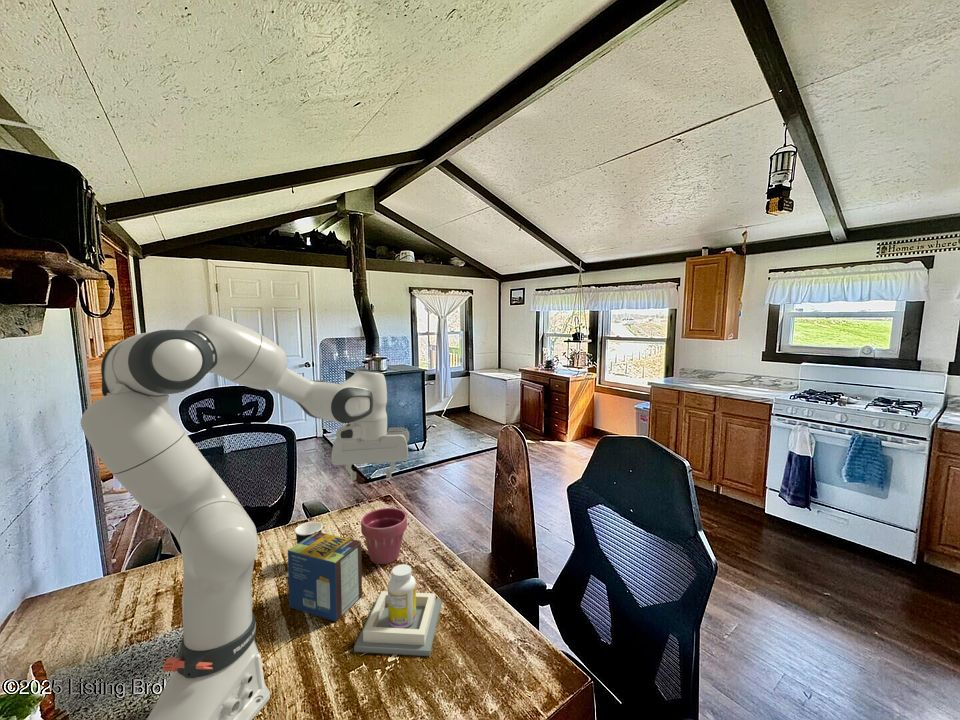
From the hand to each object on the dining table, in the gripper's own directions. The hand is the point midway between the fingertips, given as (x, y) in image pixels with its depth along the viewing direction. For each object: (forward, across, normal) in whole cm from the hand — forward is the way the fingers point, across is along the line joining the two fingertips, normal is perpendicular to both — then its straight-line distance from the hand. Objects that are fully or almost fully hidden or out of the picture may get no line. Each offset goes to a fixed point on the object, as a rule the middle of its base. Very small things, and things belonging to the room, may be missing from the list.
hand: (371, 478), depth 109 cm
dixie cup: (+31, +19, -16) cm, 40 cm away
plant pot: (+31, -3, -15) cm, 35 cm away
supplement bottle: (+30, -8, +16) cm, 35 cm away
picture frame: (+31, -8, +17) cm, 36 cm away
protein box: (+31, +12, +4) cm, 34 cm away
